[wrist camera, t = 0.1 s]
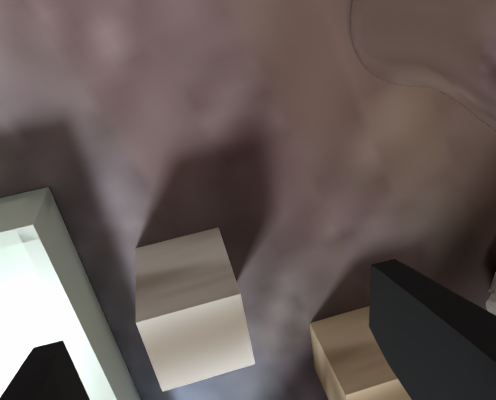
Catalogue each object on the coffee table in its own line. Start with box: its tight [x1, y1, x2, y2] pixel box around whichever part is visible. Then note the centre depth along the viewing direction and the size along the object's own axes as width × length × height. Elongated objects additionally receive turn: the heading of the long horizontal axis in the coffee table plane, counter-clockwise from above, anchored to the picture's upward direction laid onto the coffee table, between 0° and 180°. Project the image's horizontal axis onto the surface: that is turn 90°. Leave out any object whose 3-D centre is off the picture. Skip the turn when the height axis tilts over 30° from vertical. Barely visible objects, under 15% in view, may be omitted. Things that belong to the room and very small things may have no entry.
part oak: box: [310, 306, 412, 400], centre depth 24 cm, size 4×4×5 cm
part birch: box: [136, 227, 255, 392], centre depth 19 cm, size 4×4×5 cm
